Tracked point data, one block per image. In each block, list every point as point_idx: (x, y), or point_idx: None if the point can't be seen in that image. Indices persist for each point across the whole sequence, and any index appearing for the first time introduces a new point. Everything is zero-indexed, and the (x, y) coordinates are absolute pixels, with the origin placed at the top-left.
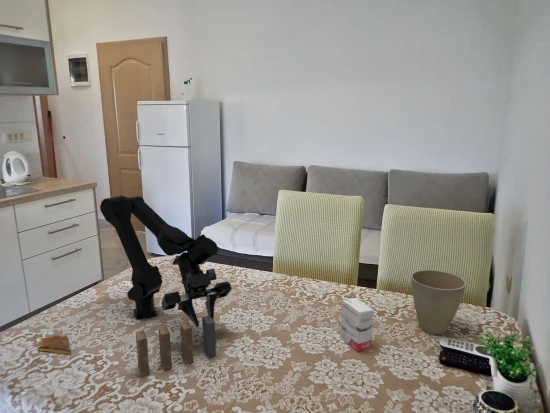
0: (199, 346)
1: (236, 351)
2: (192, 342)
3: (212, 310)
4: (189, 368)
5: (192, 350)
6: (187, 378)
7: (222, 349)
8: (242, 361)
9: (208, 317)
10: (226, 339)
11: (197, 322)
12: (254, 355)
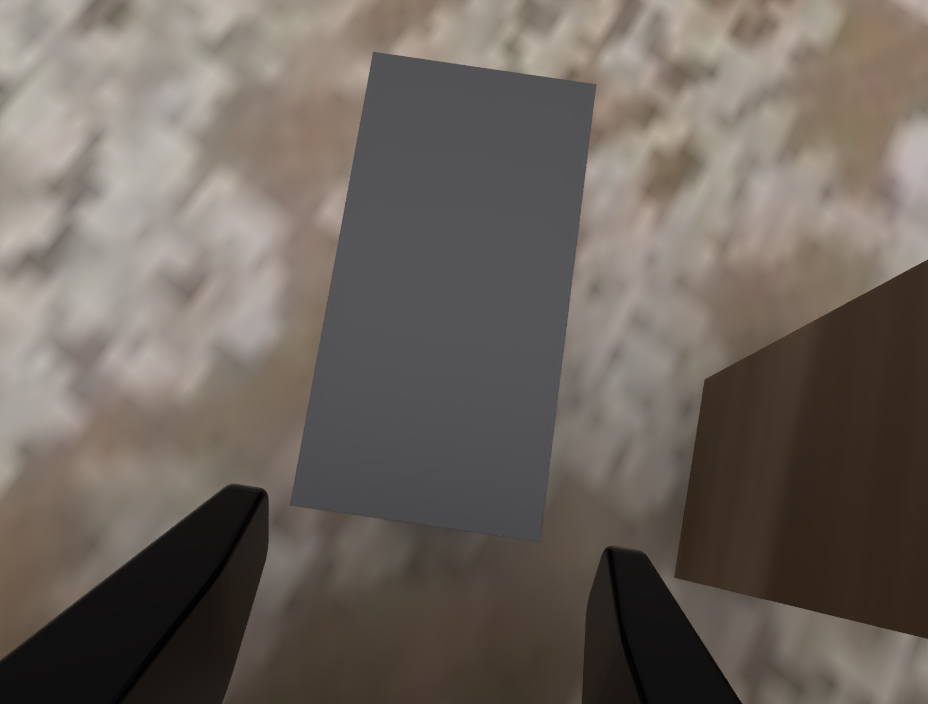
0: (469, 669)
1: (146, 251)
2: (836, 309)
3: (27, 692)
4: (790, 307)
5: (776, 346)
6: (878, 163)
7: (259, 401)
8: (220, 46)
9: (380, 408)
10: (66, 584)
11: (643, 604)
12: (33, 53)
